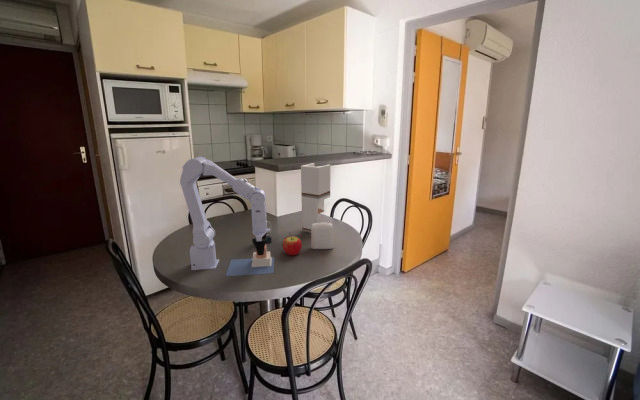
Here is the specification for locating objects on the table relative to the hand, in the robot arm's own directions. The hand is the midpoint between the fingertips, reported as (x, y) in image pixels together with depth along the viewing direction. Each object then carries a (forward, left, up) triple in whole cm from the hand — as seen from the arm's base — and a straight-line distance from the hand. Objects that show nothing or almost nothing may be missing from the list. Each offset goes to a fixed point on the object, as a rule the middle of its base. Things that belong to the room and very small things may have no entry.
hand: (261, 250), depth 124 cm
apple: (+13, +7, -6) cm, 16 cm away
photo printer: (+27, +12, -6) cm, 30 cm away
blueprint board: (-4, -3, -6) cm, 7 cm away
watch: (0, +22, -6) cm, 23 cm away
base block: (0, 0, -5) cm, 5 cm away
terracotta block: (0, 0, -2) cm, 2 cm away
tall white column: (+27, +36, -6) cm, 45 cm away
